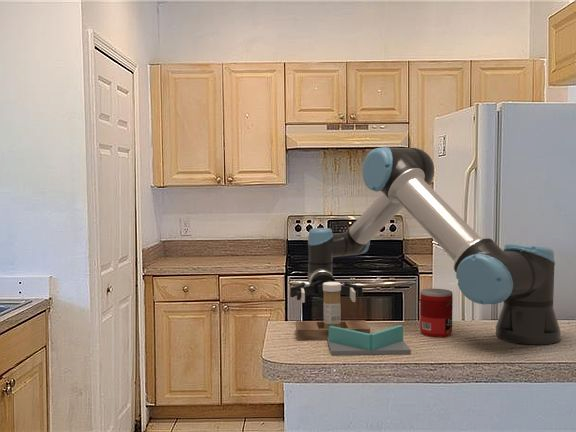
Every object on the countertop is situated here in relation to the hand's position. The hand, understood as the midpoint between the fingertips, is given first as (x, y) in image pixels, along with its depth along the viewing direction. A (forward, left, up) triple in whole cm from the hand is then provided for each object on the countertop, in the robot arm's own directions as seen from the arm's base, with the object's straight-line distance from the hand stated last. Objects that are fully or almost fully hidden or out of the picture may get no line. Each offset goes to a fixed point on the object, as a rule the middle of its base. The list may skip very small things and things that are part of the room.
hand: (328, 297), depth 177 cm
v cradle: (-14, +18, -8) cm, 24 cm away
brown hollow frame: (-3, +9, -8) cm, 12 cm away
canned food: (-28, 0, -8) cm, 29 cm away
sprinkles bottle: (-3, +9, -8) cm, 12 cm away
